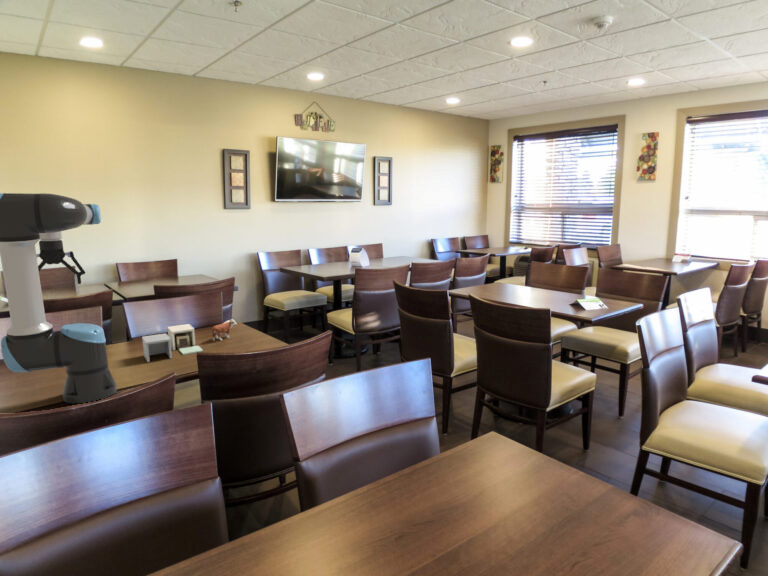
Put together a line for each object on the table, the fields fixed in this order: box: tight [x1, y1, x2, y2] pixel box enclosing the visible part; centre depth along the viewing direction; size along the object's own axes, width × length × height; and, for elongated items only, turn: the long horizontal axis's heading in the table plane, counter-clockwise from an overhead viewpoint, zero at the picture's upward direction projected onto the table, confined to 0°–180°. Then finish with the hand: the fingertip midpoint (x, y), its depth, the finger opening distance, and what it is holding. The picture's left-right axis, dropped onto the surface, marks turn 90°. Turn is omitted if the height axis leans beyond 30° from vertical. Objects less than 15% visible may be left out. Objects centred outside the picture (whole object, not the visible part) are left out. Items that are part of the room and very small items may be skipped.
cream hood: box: [167, 323, 197, 351], centre depth 215 cm, size 10×9×8 cm
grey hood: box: [141, 333, 173, 363], centre depth 199 cm, size 10×9×8 cm
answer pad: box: [178, 345, 204, 356], centre depth 208 cm, size 8×8×1 cm
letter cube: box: [175, 333, 191, 349], centre depth 214 cm, size 5×5×5 cm
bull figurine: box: [211, 318, 238, 342], centre depth 225 cm, size 4×13×8 cm, turn 148°
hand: (57, 294), depth 193 cm, fingers open, 13 cm apart
